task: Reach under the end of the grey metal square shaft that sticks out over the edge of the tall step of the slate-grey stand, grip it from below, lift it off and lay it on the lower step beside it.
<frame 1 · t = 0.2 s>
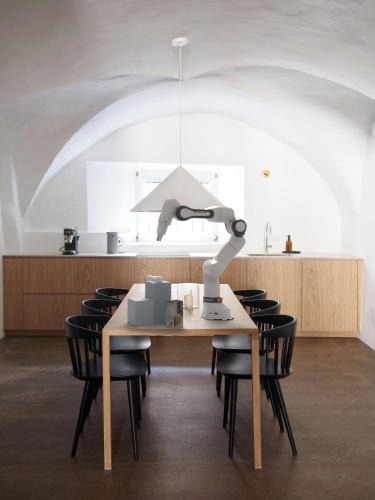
hand: (158, 241, 324), 52 cm above the table, tool tilted 15°, fingers open, 8 cm apart
keyed shaft: (154, 280, 317), point 26 cm above the table, touching stepped stand
coffee box: (174, 327, 299), on the table
stepped stand: (148, 322, 310), on the table
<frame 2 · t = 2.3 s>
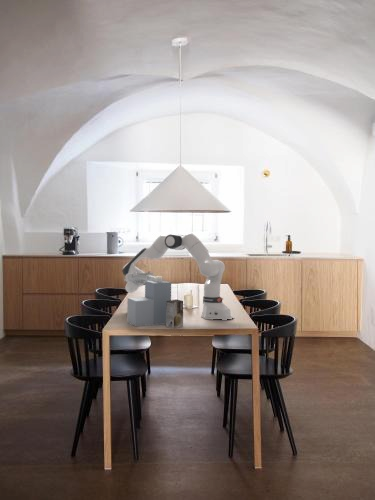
hand: (143, 272, 333), 30 cm above the table, tool pointing upward, fingers open, 8 cm apart
nothing on the table moved.
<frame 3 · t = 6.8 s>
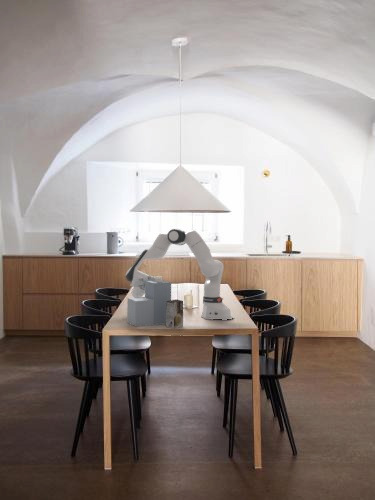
hand: (150, 277, 323), 28 cm above the table, tool pointing upward, fingers closed on keyed shaft, 2 cm apart
keyed shaft: (154, 280, 317), point 26 cm above the table, touching gripper, stepped stand
everything else where it was.
when the fingers open (18 cm above the table, at t = 13.9 s): keyed shaft drops 1 cm, resting on stepped stand.
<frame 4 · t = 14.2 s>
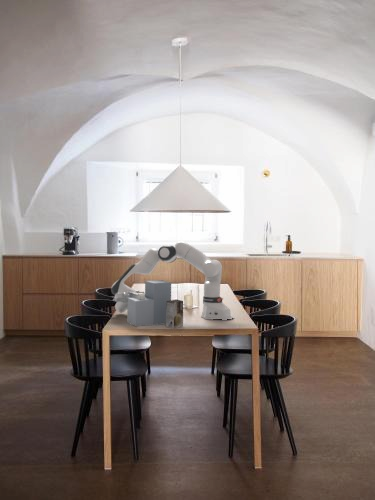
hand: (133, 291, 317), 18 cm above the table, tool pointing upward, fingers open, 5 cm apart
keyed shaft: (136, 297, 312), point 15 cm above the table, touching stepped stand
everything else where it was.
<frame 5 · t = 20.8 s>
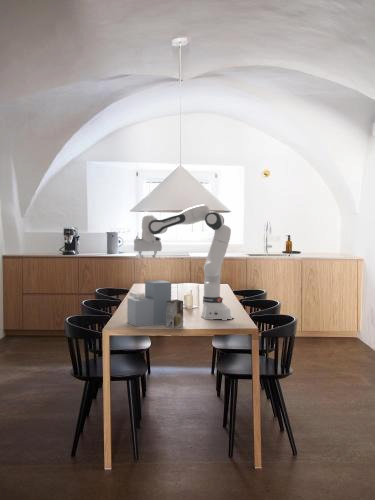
hand: (147, 257, 345), 39 cm above the table, tool pointing down, fingers open, 8 cm apart
nothing on the table moved.
at the end: keyed shaft 0.1 cm from the target spot on the stepped stand, point 15.5 cm above the stepped stand's base; keyed shaft tilted 0°; the gripper is holding nothing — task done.
